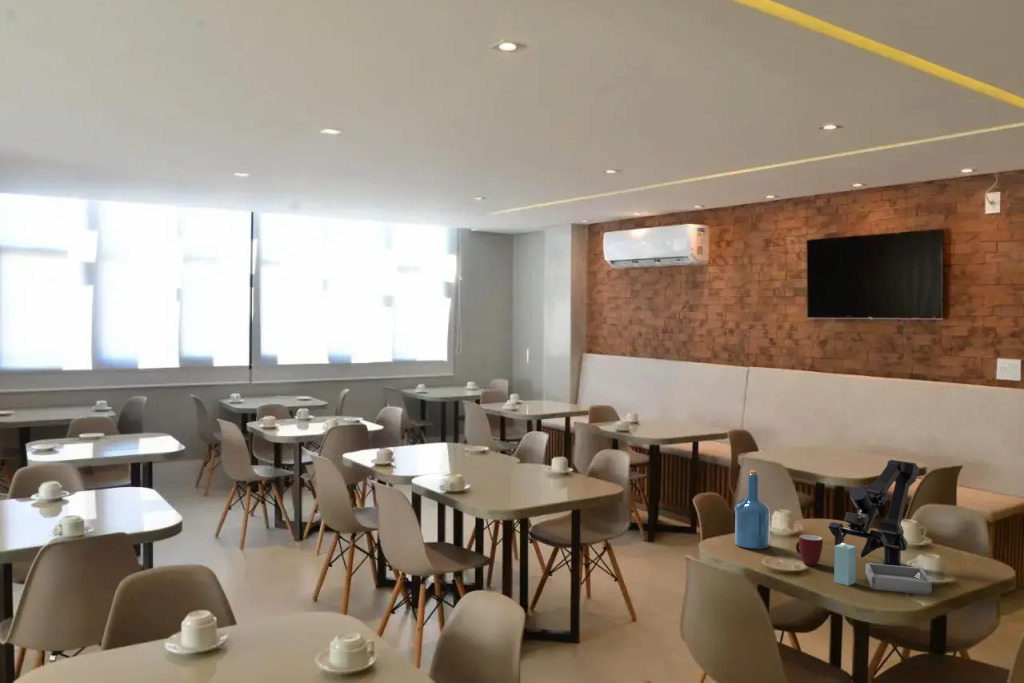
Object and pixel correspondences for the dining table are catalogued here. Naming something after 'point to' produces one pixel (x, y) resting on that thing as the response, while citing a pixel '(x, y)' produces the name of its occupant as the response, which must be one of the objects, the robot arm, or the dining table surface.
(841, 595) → the dining table surface
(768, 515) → the wine bottle
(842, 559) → the carton
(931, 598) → the dining table surface
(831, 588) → the dining table surface
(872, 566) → the gray square tray
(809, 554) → the mug
